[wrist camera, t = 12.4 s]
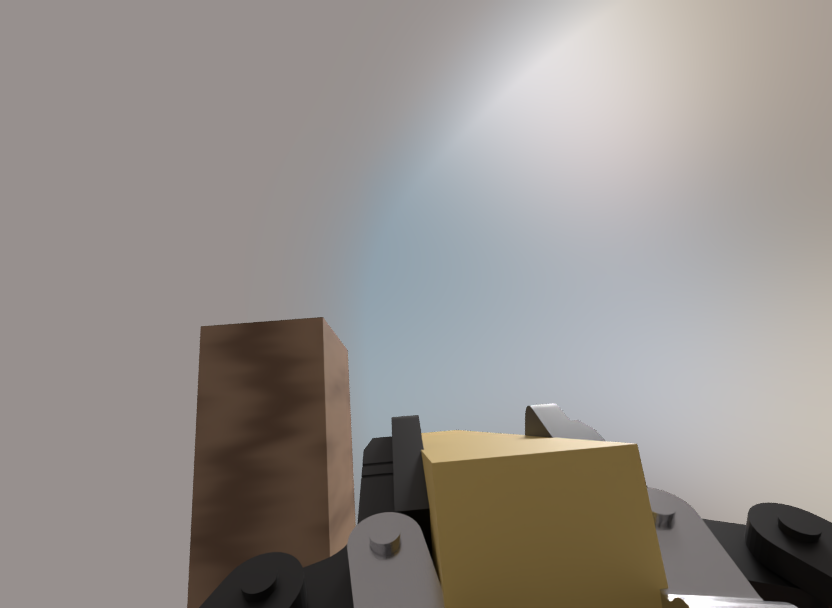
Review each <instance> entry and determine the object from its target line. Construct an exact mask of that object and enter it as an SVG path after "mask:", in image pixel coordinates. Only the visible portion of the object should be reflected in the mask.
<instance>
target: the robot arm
mask: <svg viewBox="0 0 832 608" xmlns="http://www.w3.org/2000/svg"><path fill="white" fill-rule="evenodd" d="M525 436H536V437H549V438H567V439H580V440H594V441H605V440H604V439H603V438H602V437H601V435H600V434H599V433H598V432H597V431H596V430H595V429H593V428H591V427H590V426H588V425H586V424H584V423H582V422H581V421H579V420H573V421H570V420H569V418H568V417H567V416H566V415H565V413H564V412H563V411H562V410H561V409H560V408H559V407H558V405H557V404H555V403H553V404H542V405H530V406H527V408H526V413H525ZM421 450H424V448H423V441H422V435H421V429H420V423H419V416H418V415H413V416H401V417H392V437H380V438H373V439H372V440H371V441H370V443H369V444H368V446H367V447H366V448H365V449H364V454H363V467H362V479H361V490H360V502H359V514H358V524H357V526H356V527H355V528H354V529H353V530H352V532H351V533H350V536H349V538H348V542H347V545H346V546H345V547H344V548H343V549H341V550H340V551H339V552H337V553H336V554H334V555H332V556H331V557H329V558H326V559H324V560H322V561H319V562H317V563H314V564H311V565H309V566H306V567H302V565H301V563H300V562H299V561H298V559H297V558H295V557H294V556H292V555H290V554H287V553H283V552H270V553H264V554H260V555H258V556H255V557H253V558H251V559H249V560H247V561H245V562H243V563H242V564H240V565H239V566H238V567H236V568H235V569H234V570H233V571H232V572H231V573H230V574H229V575H228V576H227V577H226V578H225V579H224V580H223V581H222V582H221V583H220V585H219V586H218V587H217V588H216V589H215V590H214V591H213V592H212V594H211V595H210V596H209V597H208V598H207V599H206V600H205V601H204V603H203V604H202V605H201V606H200V607H199V608H445V607H444V600H443V593H442V588H441V585H440V582H439V579H438V576H437V573H436V571H435V568H434V565H433V560H432V542H431V524H430V508H429V501H428V494H427V487H426V480H425V473H424V467H423V460H422V453H421ZM646 487H647V486H646ZM647 491H648V496H649V501H650V505H651V510H652V514H653V519H654V524H655V528H656V533H657V537H658V542H659V547H660V551H661V556H662V560H663V565H664V570H665V574H666V579H667V583H668V588H665V589H660V594H661V602H662V608H832V523H831V522H829V521H827V520H825V519H823V518H821V517H819V516H817V515H814V514H812V513H810V512H808V511H805V510H802V509H799V508H796V507H792V506H789V505H784V504H778V503H760V504H757V505H755V506H753V507H751V508H750V510H749V512H748V518H747V523H746V525H743V524H735V523H728V522H720V521H713V520H707V519H701V517H700V516H699V515H698V513H697V512H696V511H695V510H694V509H693V508H692V507H691V506H690V505H689V504H688V503H687V502H685V501H684V500H682V499H680V498H679V497H677V496H675V495H673V494H670V493H668V492H665V491H662V490H659V489H654V488H648V487H647Z"/></svg>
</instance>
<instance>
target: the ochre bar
mask: <svg viewBox="0 0 832 608" xmlns="http://www.w3.org/2000/svg"><path fill="white" fill-rule="evenodd" d="M421 435H422V441H423V448H424V450H421V453H422V460H423V467H424V473H425V480H426V487H427V494H428V501H429V508H430V524H431V542H432V560H433V565H434V568H435V571H436V573H437V576H438V579H439V582H440V585H441V588H442V593H443V600H444V607H445V608H662V602H661V594H660V589H665V588H668V583H667V579H666V574H665V570H664V565H663V560H662V556H661V551H660V547H659V542H658V537H657V533H656V528H655V524H654V519H653V514H652V510H651V505H650V501H649V496H648V491H647V487H646V482H645V478H644V473H643V469H642V464H641V459H640V455H639V450H638V445H637V444H633V443H619V442H606V441H594V440H580V439H567V438H549V437H536V436H525V435H514V434H502V433H488V432H475V431H462V430H453V431H443V432H430V433H421Z"/></svg>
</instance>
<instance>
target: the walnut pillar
mask: <svg viewBox="0 0 832 608" xmlns="http://www.w3.org/2000/svg"><path fill="white" fill-rule="evenodd" d="M200 335H201V336H200V355H199V375H198V396H197V417H196V439H195V460H194V480H193V500H192V522H191V523H192V524H191V542H190V564H189V583H188V604H187V608H199V607H200V606H201V605H202V604H203V603H204V601H205V600H206V599H207V598H208V597H209V596H210V595H211V594H212V592H213V591H214V590H215V589H216V588H217V587H218V586H219V585H220V583H221V582H222V581H223V580H224V579H225V578H226V577H227V576H228V575H229V574H230V573H231V572H232V571H233V570H234V569H235V568H236V567H238V566H239V565H240V564H242V563H243V562H245V561H247V560H249V559H251V558H253V557H255V556H258V555H260V554H264V553H270V552H283V553H287V554H290V555H292V556H294V557H295V558H297V559H298V561H299V562H300V563H301V565H302V567H306V566H309V565H311V564H314V563H317V562H319V561H322V560H324V559H326V558H329V557H331V556H332V555H334V554H336V553H337V552H339V551H340V550H341V549H343V548H344V547H345V546H346V545H347V542H348V538H349V536H350V533H351V532H352V530H353V529H354V528H355V527H356V526H355V525H356V524H355V504H354V503H355V502H354V480H353V462H352V461H353V458H352V438H351V414H350V394H349V393H350V392H349V373H348V372H349V370H348V350H347V349H346V347H345V346H344V345H343V344H342V342H341V341H340V339H339V338H338V337H337V335H336V334H335V333H334V331H333V330H332V329H331V327H330V326H329V325H328V324H327V322H326V321H325V319H324V318H323V317H318V318H307V319H306V318H305V319H292V320H280V321H268V322H267V321H266V322H253V323H241V324H228V325H214V326H201V334H200Z"/></svg>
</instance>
